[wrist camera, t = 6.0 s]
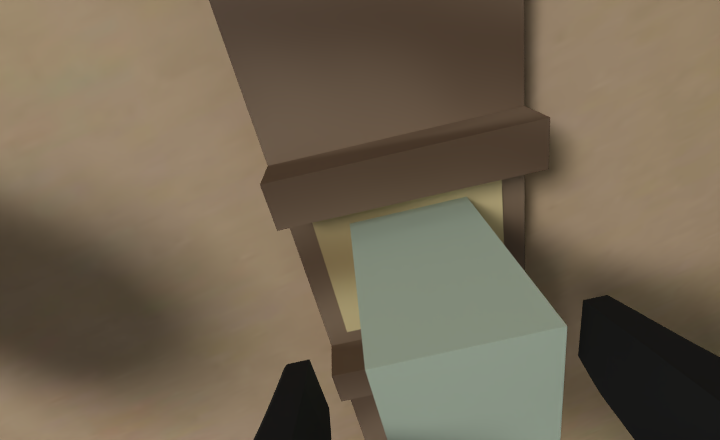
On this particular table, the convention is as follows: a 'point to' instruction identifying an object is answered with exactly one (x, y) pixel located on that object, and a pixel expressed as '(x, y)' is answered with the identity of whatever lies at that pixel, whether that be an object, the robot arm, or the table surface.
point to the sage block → (455, 329)
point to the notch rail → (382, 131)
